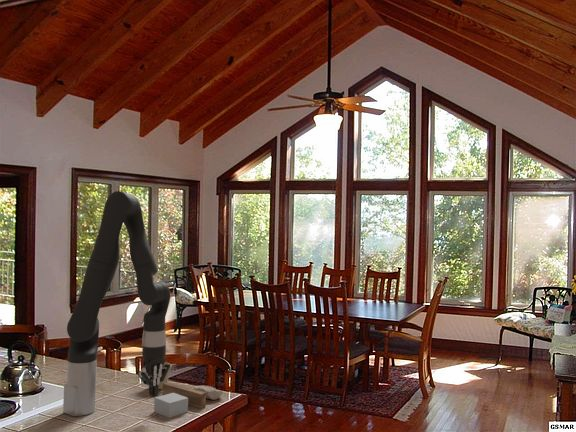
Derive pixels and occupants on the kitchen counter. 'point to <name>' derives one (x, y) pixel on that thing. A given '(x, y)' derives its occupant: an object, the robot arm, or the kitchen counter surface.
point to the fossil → (209, 392)
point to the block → (171, 405)
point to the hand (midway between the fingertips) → (153, 396)
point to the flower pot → (165, 378)
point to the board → (186, 394)
